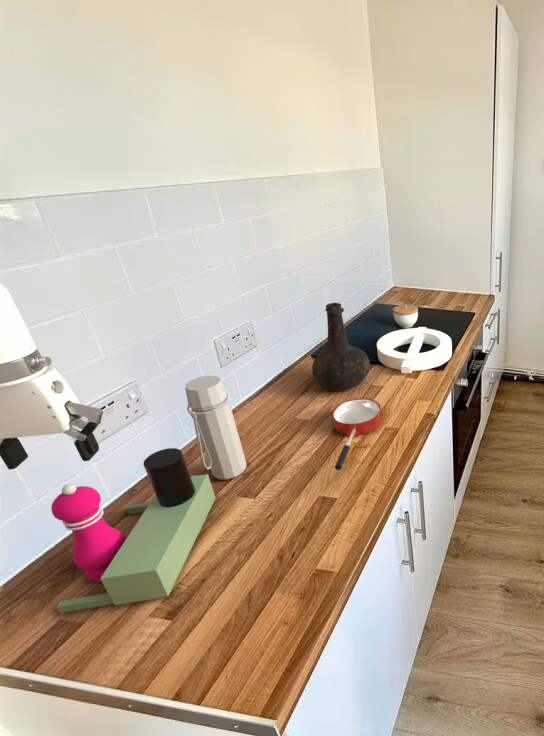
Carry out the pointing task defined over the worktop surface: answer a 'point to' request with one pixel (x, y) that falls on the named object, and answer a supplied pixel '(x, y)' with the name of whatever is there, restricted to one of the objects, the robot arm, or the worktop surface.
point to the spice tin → (169, 477)
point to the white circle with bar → (414, 349)
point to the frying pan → (355, 421)
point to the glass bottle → (339, 356)
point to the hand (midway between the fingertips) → (56, 459)
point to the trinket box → (405, 315)
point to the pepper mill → (87, 529)
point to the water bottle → (215, 427)
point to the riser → (151, 551)
